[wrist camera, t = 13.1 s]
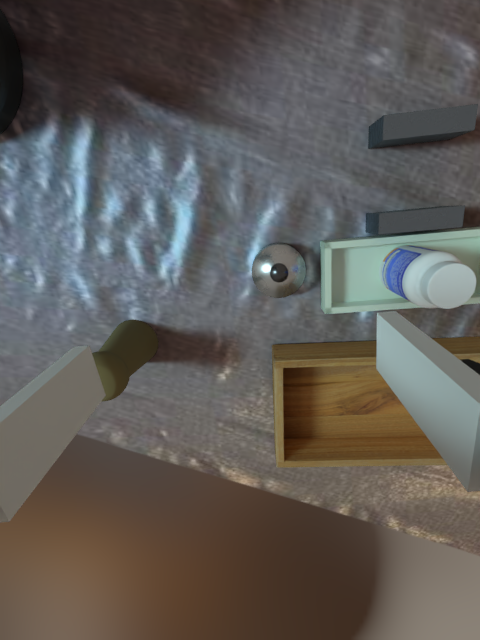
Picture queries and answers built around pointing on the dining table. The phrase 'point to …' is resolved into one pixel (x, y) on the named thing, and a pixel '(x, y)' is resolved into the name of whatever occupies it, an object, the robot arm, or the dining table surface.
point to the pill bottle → (427, 277)
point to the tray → (346, 407)
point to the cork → (124, 355)
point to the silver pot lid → (278, 270)
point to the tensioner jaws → (414, 131)
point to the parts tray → (364, 261)
